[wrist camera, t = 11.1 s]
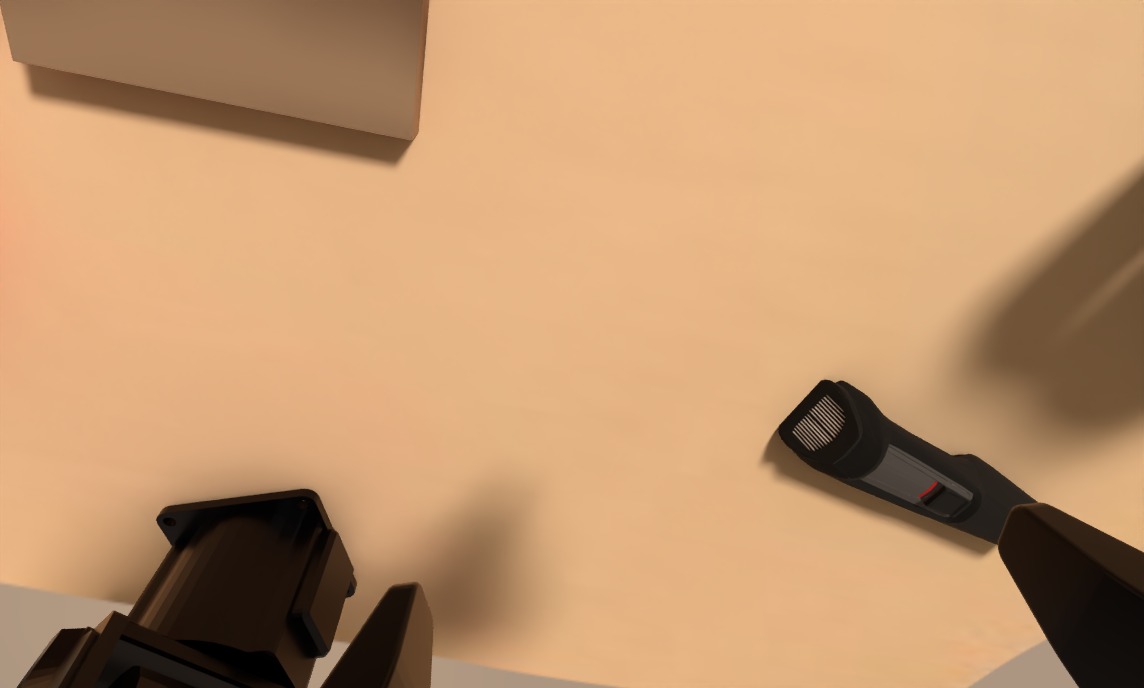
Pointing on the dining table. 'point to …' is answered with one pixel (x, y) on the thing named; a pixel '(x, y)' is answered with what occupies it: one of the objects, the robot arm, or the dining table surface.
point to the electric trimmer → (897, 462)
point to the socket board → (243, 52)
